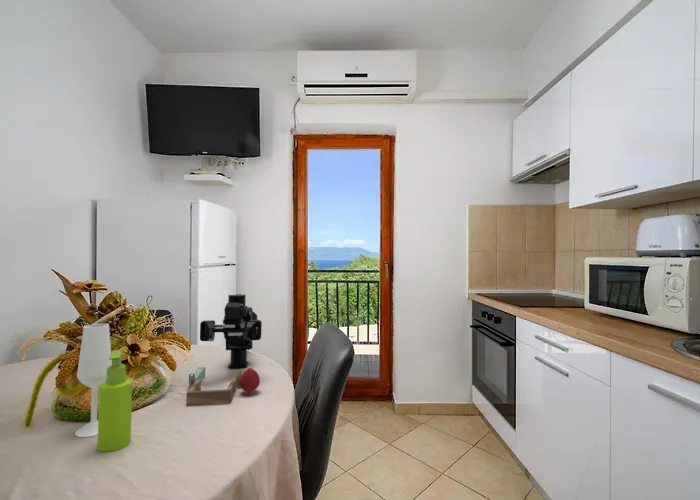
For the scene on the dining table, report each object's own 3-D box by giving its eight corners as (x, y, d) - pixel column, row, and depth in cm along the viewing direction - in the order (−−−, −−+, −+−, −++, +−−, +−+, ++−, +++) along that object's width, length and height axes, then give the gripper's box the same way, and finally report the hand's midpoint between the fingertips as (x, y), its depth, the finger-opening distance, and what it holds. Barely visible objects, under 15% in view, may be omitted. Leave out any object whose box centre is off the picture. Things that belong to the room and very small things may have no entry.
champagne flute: (104, 419, 85) (107, 321, 85) (116, 428, 81) (118, 325, 82) (70, 430, 80) (73, 326, 80) (81, 440, 76) (84, 330, 76)
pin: (189, 388, 105) (189, 373, 105) (194, 388, 106) (195, 373, 106) (187, 390, 104) (188, 375, 104) (193, 390, 104) (193, 375, 104)
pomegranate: (262, 390, 105) (262, 363, 105) (255, 397, 100) (255, 369, 100) (243, 389, 106) (244, 362, 106) (235, 396, 100) (236, 368, 100)
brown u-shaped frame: (198, 388, 106) (198, 373, 106) (241, 386, 108) (241, 372, 108) (186, 406, 93) (186, 389, 94) (234, 403, 96) (235, 387, 96)
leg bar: (198, 376, 116) (198, 367, 116) (205, 375, 117) (205, 366, 117) (188, 388, 106) (189, 378, 106) (196, 387, 106) (196, 377, 106)
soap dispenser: (94, 457, 69) (96, 357, 70) (100, 441, 76) (102, 348, 76) (128, 450, 72) (131, 353, 72) (131, 434, 78) (134, 346, 79)
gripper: (207, 302, 117) (194, 309, 102) (263, 302, 120) (259, 309, 105) (206, 335, 117) (193, 347, 102) (262, 334, 120) (258, 346, 105)
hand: (226, 336), depth 103 cm, fingers open, 9 cm apart
